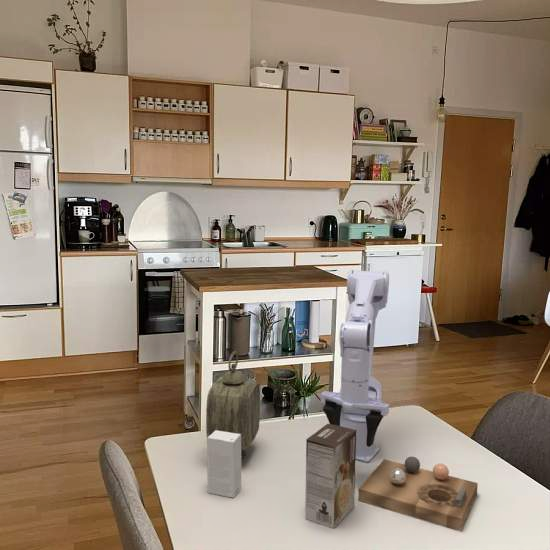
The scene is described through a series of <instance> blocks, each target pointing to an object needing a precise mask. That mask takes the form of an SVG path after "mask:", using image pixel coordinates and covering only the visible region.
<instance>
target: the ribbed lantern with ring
mask: <svg viewBox="0 0 550 550" xmlns="http://www.w3.org/2000/svg"><path fill="white" fill-rule="evenodd" d="M234 356H236V358H235V363H232V360H233V357H234ZM238 363H239V353H238V351H237V350H234V351H232V352H231V353H230V356H229V359H228V371H226V373H224V375H222V376H220V377H218V379H217V380H215V382H214V383H213V384H212V385H211V387H210V388H209V390H208V391H207V392H208V393H207V397H206V410H205V411H206V412H205V413H206V415H205V425H206V426H205V429H206V431H205V432H206V433H205V434H206V438H207V437H209V436H210V435H211V434H212V433H213V432H214V431H215V430H217V431H224V432H230V433H237V434H241V458H245V457H246V456H247V451H246V450H245V449H248V448H249V447H250V446H251V445H252V444H253V442H254V441H255V438H256V436H257V434H258V432H259V430H260V421H261V420H260V419H261V389H260V388H261V387H260V386H261V385H260V383H259V382H257V381H256V380H254V379H253V378H245V376H244V375H243V373H242V372H241V371H238V370H237V369H236V368H237V367H238Z"/></svg>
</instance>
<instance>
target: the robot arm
mask: <svg viewBox="0 0 550 550" xmlns="http://www.w3.org/2000/svg"><path fill="white" fill-rule="evenodd" d="M389 287H390V274H389V272H388V271H387V270H386V271H373V270H355V269H354V270H353V269H349V271H348V272H347V279H346V292H347V300H348V302H349V305H348V309H347V313H346V317H345V321H344V323H341V324H340V326H339V327H340V328H339V340H338V341H339V346H340V348H339V349H340V350H339V351H340V352H339V353H340V354H339V355H340V358H341V364H340V365H341V366H340V367H341V370H340V389H339V392H337V391H336V392H333V391H326V390H325V391H323V392H321V393H320V403H322V404H323V403H324V405H323V406H322V411H323V412H324V415H325V416H326V418H327V421H328V424H332V425H337V426H342V427H346V428H350V429H354V430H357V431H356V459H355V460H357V461H361V462H365V463H369V462H371V460H372V459H373V458H374V457H375V456H376V455H377V454H378V452H379V451H380V450H381V449H380V447H378V446H375V439H376V438H375V436H376V433H377V431H378V428H379V425H380V424H381V422H382V420H383V418H384V417H386V416H387V415H388V414H389V413H390V403H386V402H383V387H382V384H381V383H380V382H379V381H378V380H377V379H376V378H375V377H374V376H372V374H373V373H372V371H373V359H374V346H375V334H376V320H377V317H378V314H379V311H380V310H383V309H385V308H387V304H388V297H389Z"/></svg>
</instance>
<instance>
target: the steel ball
mask: <svg viewBox="0 0 550 550" xmlns="http://www.w3.org/2000/svg"><path fill="white" fill-rule="evenodd" d="M390 479H391V481H392V482H393V483H394V484H396V485H401V484H403V483H404V482H405V479H406V475H405V472H404V471H403V470H402V469H400V468H395V469H393V470H392V471H391V472H390Z"/></svg>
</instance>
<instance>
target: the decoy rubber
mask: <svg viewBox="0 0 550 550" xmlns="http://www.w3.org/2000/svg"><path fill="white" fill-rule="evenodd" d="M404 464H405V468H406V469H407V470H408V471H409V472H416V471H418V470H419V468H420V467H421V462H420V460H419V458H417V457H416V456H409V457H407V458H406V459H405V461H404Z"/></svg>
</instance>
